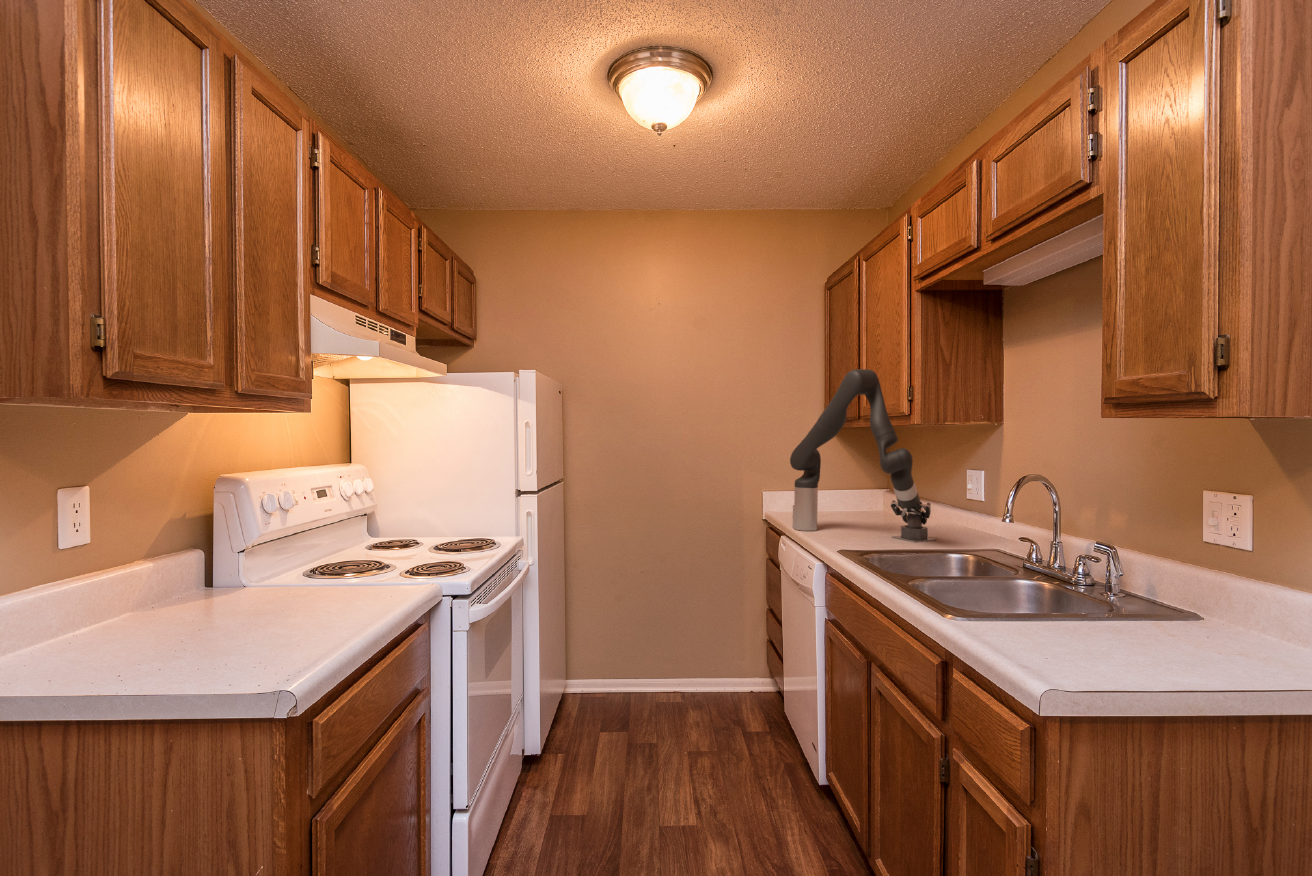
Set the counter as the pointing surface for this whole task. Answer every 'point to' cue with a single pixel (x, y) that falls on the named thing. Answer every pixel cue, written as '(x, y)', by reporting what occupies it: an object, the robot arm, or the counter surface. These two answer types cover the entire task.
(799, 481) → the robot arm
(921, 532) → the hex nut base plate
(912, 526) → the grey round peg
